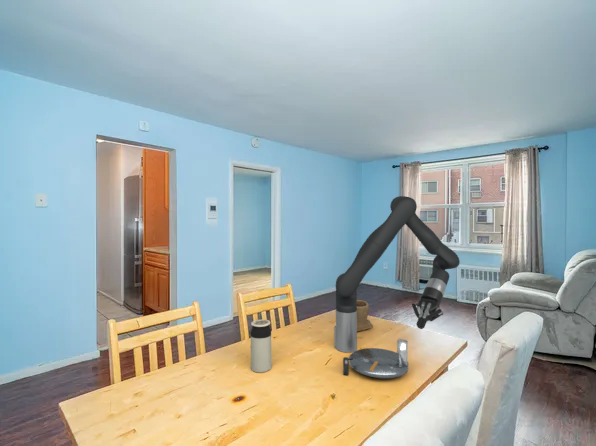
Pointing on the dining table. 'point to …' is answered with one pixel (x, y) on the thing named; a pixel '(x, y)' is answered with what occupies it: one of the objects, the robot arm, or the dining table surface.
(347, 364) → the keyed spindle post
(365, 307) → the stone cup
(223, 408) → the dining table surface
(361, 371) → the turntable
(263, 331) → the travel mug
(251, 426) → the dining table surface
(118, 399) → the dining table surface
